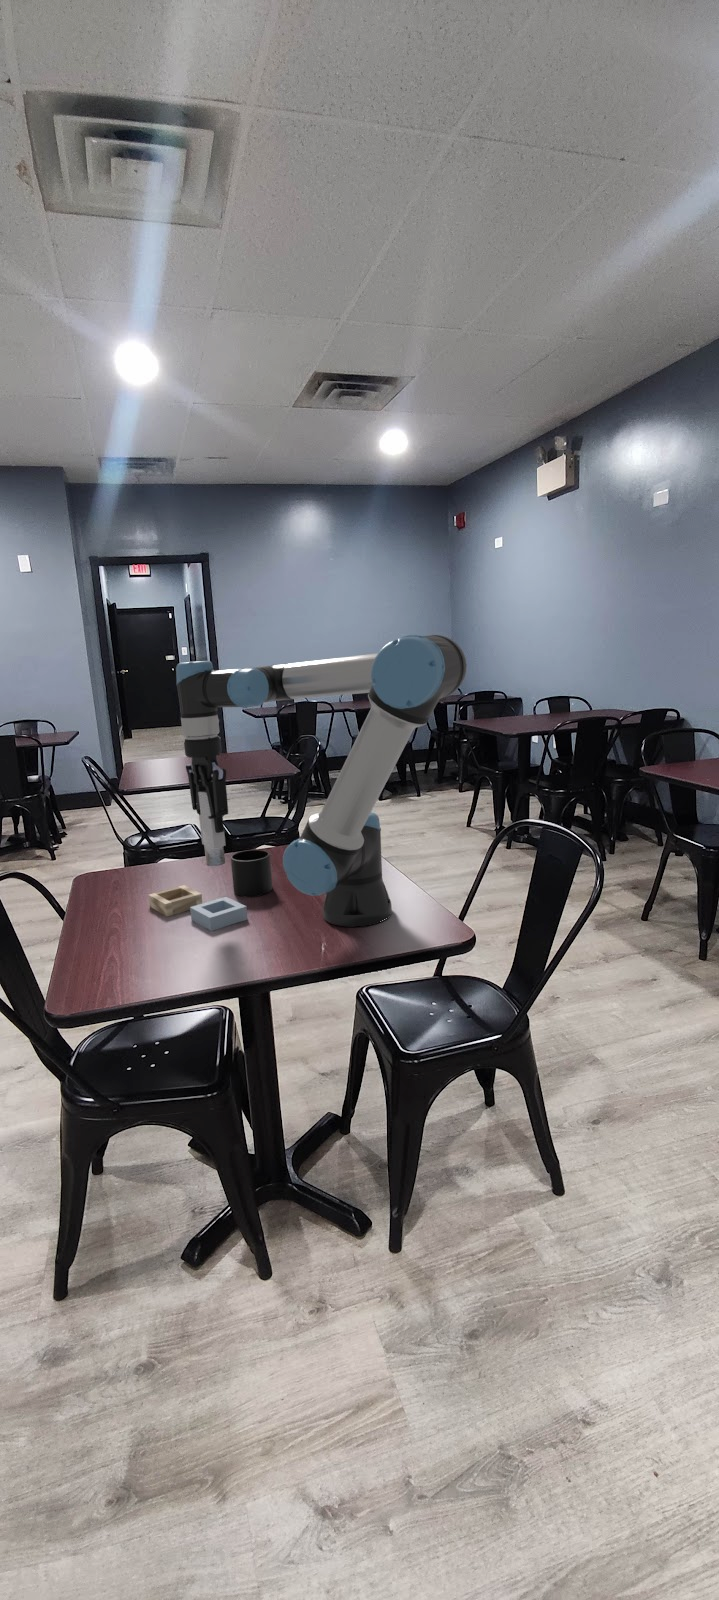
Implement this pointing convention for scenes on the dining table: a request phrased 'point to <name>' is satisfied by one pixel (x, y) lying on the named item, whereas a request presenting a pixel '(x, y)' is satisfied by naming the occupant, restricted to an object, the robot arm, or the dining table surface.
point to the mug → (251, 873)
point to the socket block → (218, 913)
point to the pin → (209, 833)
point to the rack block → (175, 900)
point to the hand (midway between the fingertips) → (213, 844)
